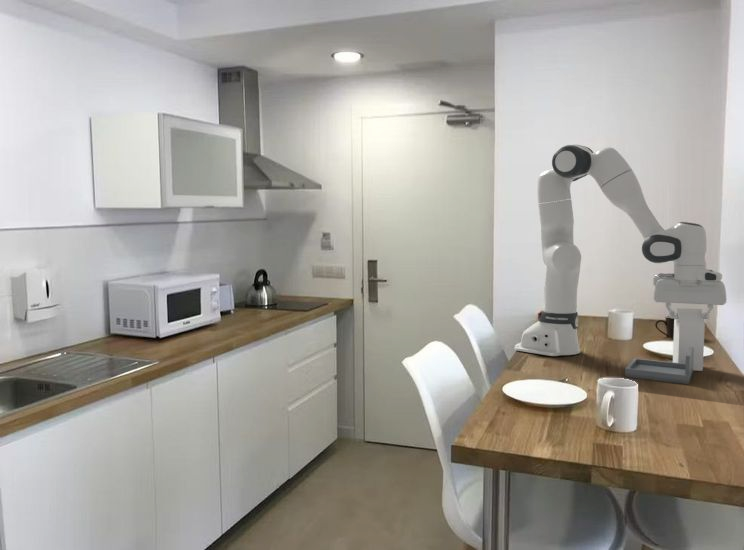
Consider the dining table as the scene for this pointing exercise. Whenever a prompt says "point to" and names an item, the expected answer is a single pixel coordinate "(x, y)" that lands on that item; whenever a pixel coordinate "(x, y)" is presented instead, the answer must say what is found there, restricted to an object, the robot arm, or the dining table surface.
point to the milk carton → (689, 336)
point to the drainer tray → (662, 369)
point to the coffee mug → (668, 326)
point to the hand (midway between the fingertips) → (688, 317)
